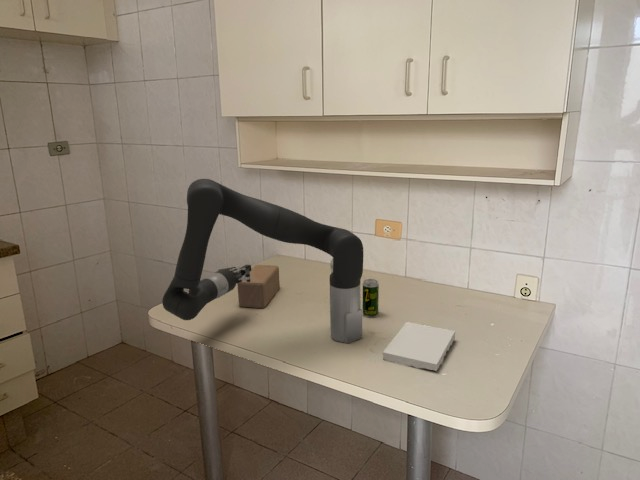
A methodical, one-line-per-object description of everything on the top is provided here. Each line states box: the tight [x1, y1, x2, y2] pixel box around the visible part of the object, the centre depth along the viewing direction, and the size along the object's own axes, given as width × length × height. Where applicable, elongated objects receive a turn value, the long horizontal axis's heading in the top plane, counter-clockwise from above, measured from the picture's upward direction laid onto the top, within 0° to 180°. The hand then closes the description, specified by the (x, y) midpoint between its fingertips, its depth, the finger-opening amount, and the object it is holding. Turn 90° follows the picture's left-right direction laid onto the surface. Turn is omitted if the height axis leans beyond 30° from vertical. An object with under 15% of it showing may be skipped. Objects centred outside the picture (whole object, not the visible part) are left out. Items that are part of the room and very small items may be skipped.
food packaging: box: [382, 321, 456, 372], centre depth 134 cm, size 15×3×20 cm
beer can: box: [362, 278, 380, 319], centre depth 156 cm, size 5×5×12 cm
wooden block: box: [236, 264, 281, 309], centre depth 173 cm, size 10×10×20 cm
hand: (249, 267), depth 159 cm, fingers closed
